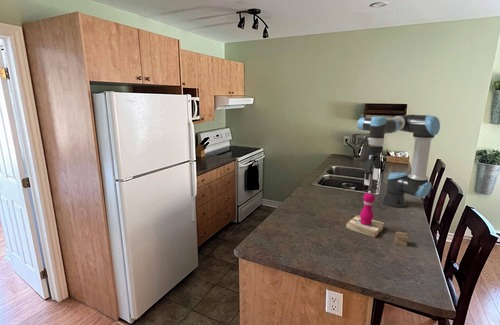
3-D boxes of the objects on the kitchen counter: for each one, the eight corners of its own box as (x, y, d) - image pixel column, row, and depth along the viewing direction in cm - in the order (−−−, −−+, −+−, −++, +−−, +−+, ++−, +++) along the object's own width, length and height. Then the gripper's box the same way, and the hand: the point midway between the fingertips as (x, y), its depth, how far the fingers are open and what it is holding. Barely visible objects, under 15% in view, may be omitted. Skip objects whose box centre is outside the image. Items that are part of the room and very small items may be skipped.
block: (394, 239, 146) (396, 231, 144) (405, 241, 144) (406, 233, 143) (395, 244, 141) (397, 235, 140) (406, 246, 139) (408, 237, 138)
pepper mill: (364, 226, 153) (368, 193, 149) (356, 221, 160) (360, 189, 155) (375, 225, 155) (379, 192, 151) (366, 219, 162) (370, 188, 157)
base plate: (356, 219, 169) (357, 214, 169) (383, 227, 159) (384, 223, 158) (346, 227, 158) (346, 223, 157) (374, 237, 147) (375, 232, 147)
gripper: (376, 141, 158) (372, 176, 163) (359, 147, 140) (355, 185, 145) (389, 143, 153) (385, 178, 158) (374, 149, 135) (370, 189, 141)
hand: (371, 182), depth 152 cm, fingers open, 13 cm apart
